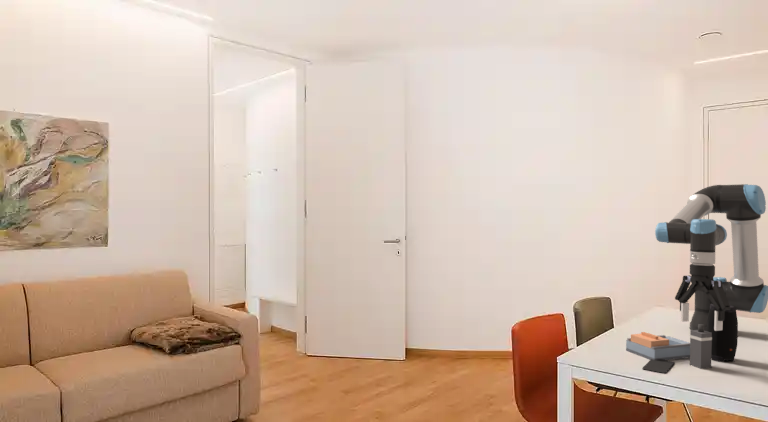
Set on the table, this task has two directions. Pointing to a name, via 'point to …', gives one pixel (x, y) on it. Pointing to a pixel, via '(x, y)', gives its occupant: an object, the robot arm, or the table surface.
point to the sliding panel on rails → (661, 349)
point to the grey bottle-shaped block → (700, 348)
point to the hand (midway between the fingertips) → (700, 325)
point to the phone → (658, 366)
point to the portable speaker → (723, 335)
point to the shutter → (649, 340)
